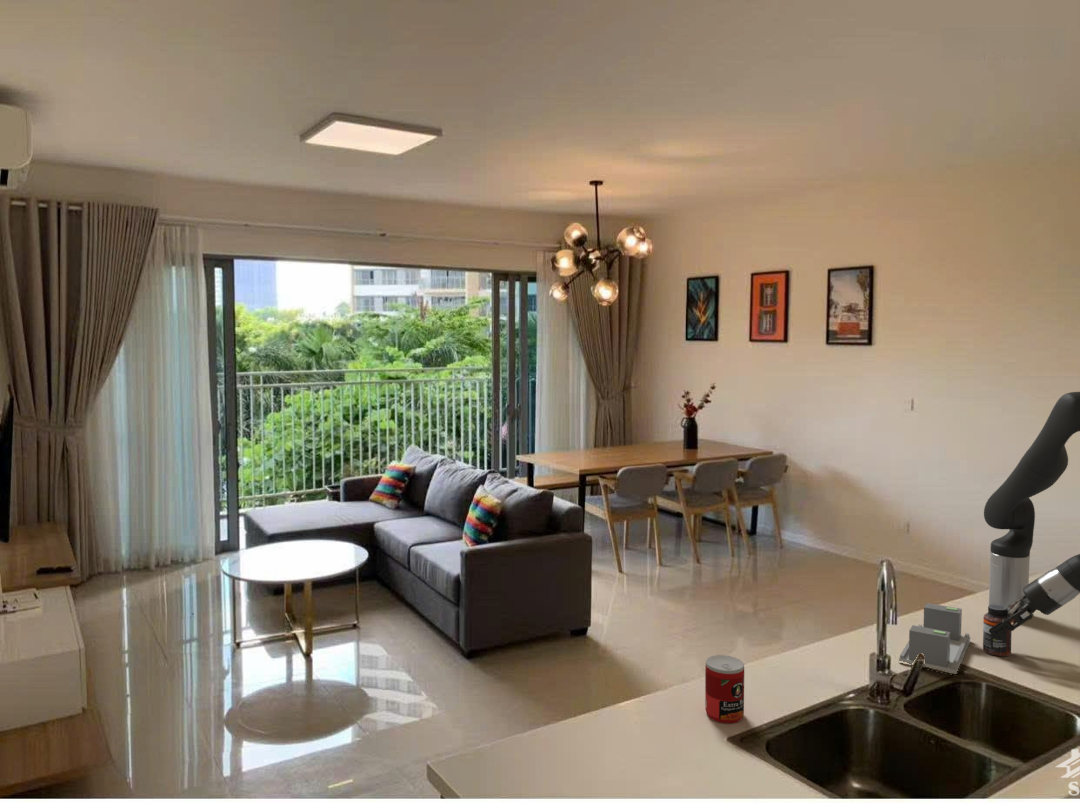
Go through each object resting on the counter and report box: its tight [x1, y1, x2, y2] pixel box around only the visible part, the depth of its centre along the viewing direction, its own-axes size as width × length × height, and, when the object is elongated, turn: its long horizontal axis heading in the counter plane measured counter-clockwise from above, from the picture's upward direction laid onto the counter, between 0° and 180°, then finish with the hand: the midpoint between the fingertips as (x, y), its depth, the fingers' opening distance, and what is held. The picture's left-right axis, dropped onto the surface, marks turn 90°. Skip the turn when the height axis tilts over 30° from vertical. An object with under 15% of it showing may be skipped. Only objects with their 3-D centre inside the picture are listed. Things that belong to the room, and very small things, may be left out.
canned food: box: [704, 654, 745, 724], centre depth 159 cm, size 8×8×11 cm
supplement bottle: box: [982, 604, 1013, 657], centre depth 189 cm, size 6×6×11 cm
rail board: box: [898, 602, 971, 674], centre depth 189 cm, size 24×12×8 cm, turn 145°
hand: (993, 628), depth 189 cm, fingers open, 8 cm apart
